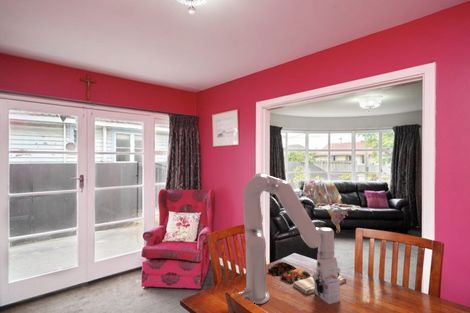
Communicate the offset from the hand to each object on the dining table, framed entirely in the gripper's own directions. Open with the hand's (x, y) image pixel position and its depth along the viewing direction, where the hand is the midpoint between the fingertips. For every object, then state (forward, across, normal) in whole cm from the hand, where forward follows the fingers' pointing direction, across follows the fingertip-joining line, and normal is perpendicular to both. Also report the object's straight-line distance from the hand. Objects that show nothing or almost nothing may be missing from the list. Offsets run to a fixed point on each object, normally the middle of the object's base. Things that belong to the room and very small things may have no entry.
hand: (327, 289), depth 124 cm
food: (+4, 0, +30) cm, 30 cm away
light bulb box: (+4, 0, 0) cm, 4 cm away
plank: (+4, +7, +12) cm, 14 cm away
